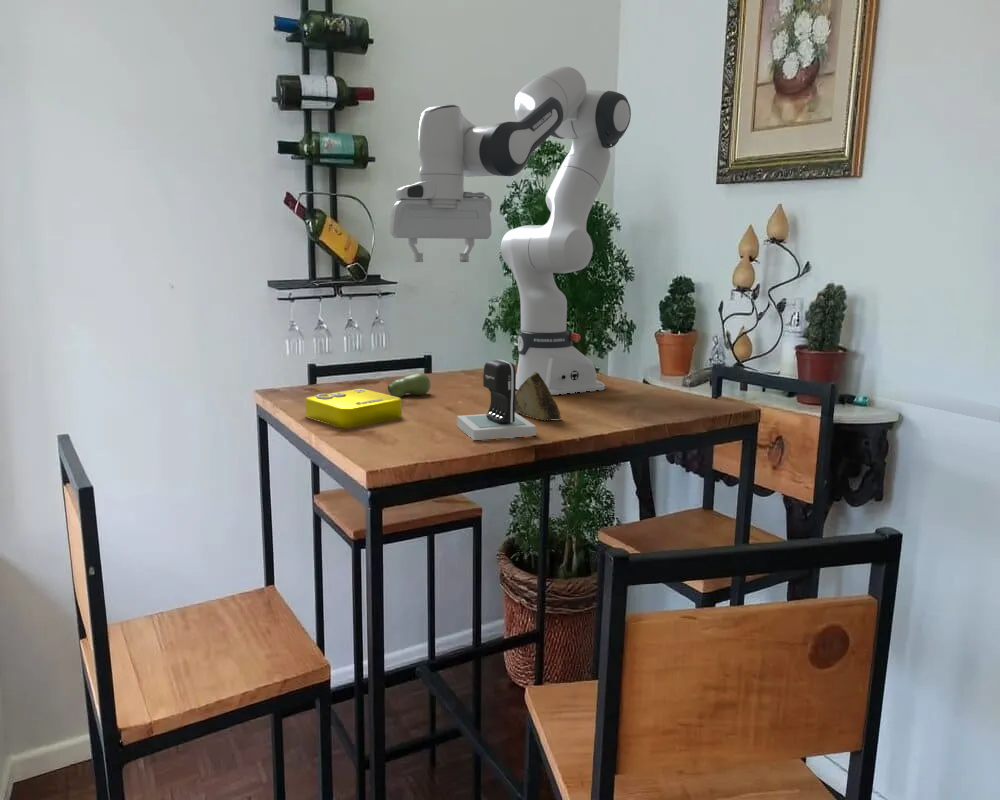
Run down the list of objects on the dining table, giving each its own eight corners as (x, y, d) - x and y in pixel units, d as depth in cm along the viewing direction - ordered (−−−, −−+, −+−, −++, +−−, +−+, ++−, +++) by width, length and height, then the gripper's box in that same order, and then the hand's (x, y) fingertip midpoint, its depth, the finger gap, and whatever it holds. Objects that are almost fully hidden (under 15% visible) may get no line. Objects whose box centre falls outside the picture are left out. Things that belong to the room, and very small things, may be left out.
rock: (499, 401, 164) (510, 404, 155) (522, 368, 165) (535, 369, 155) (539, 430, 167) (552, 435, 157) (561, 397, 167) (576, 400, 158)
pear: (431, 372, 179) (388, 382, 176) (434, 394, 180) (393, 404, 177) (424, 368, 184) (383, 377, 181) (428, 390, 185) (387, 399, 182)
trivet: (514, 422, 156) (515, 411, 155) (535, 436, 145) (536, 425, 144) (456, 425, 152) (456, 415, 152) (473, 441, 141) (473, 429, 141)
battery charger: (480, 418, 149) (480, 359, 147) (497, 416, 151) (498, 357, 149) (498, 425, 144) (498, 364, 141) (516, 423, 145) (517, 363, 143)
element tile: (344, 431, 149) (343, 407, 148) (301, 418, 159) (300, 395, 158) (406, 419, 159) (405, 396, 158) (362, 407, 170) (361, 385, 169)
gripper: (487, 193, 160) (486, 261, 163) (387, 190, 154) (389, 261, 157) (496, 191, 154) (495, 262, 157) (393, 188, 148) (394, 262, 151)
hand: (441, 262), depth 157 cm, fingers open, 8 cm apart
